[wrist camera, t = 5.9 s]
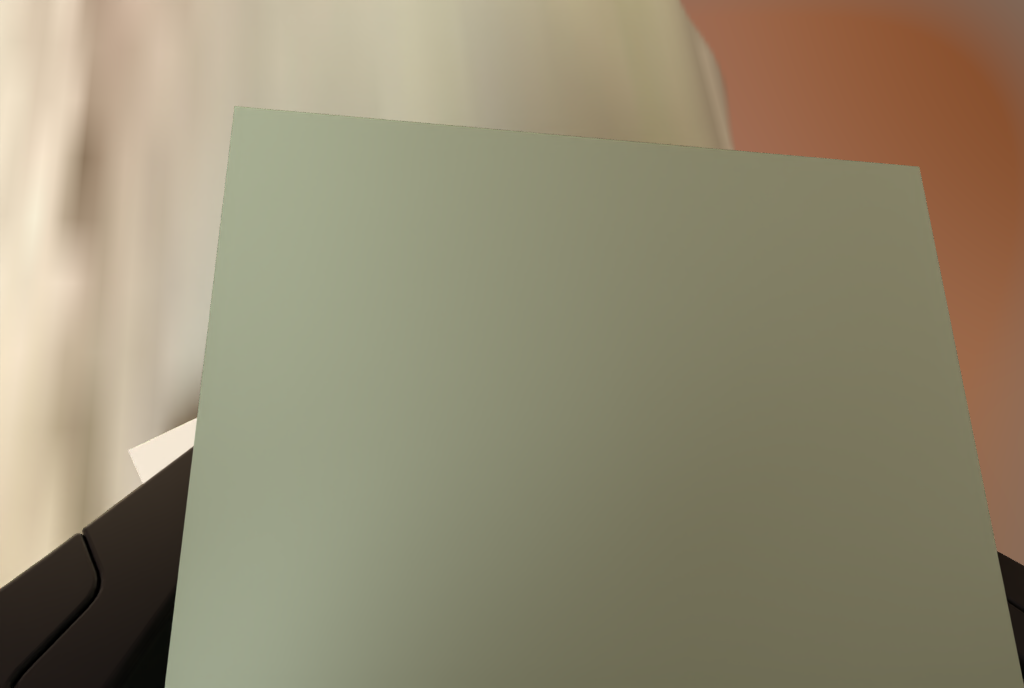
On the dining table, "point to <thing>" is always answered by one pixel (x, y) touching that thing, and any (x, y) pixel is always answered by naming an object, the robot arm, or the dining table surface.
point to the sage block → (578, 422)
